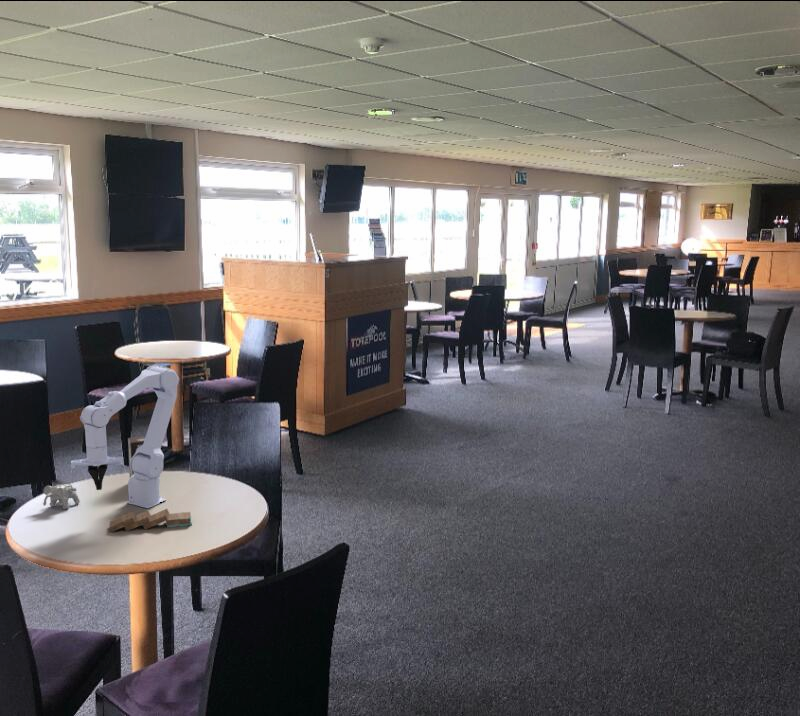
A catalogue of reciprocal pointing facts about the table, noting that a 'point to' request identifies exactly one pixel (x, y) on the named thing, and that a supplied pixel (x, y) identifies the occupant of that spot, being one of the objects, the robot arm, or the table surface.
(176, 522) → the domino
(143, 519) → the domino
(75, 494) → the gray elephant figurine
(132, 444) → the coffee box
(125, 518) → the domino
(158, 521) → the domino
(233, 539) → the table surface
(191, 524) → the teal domino
